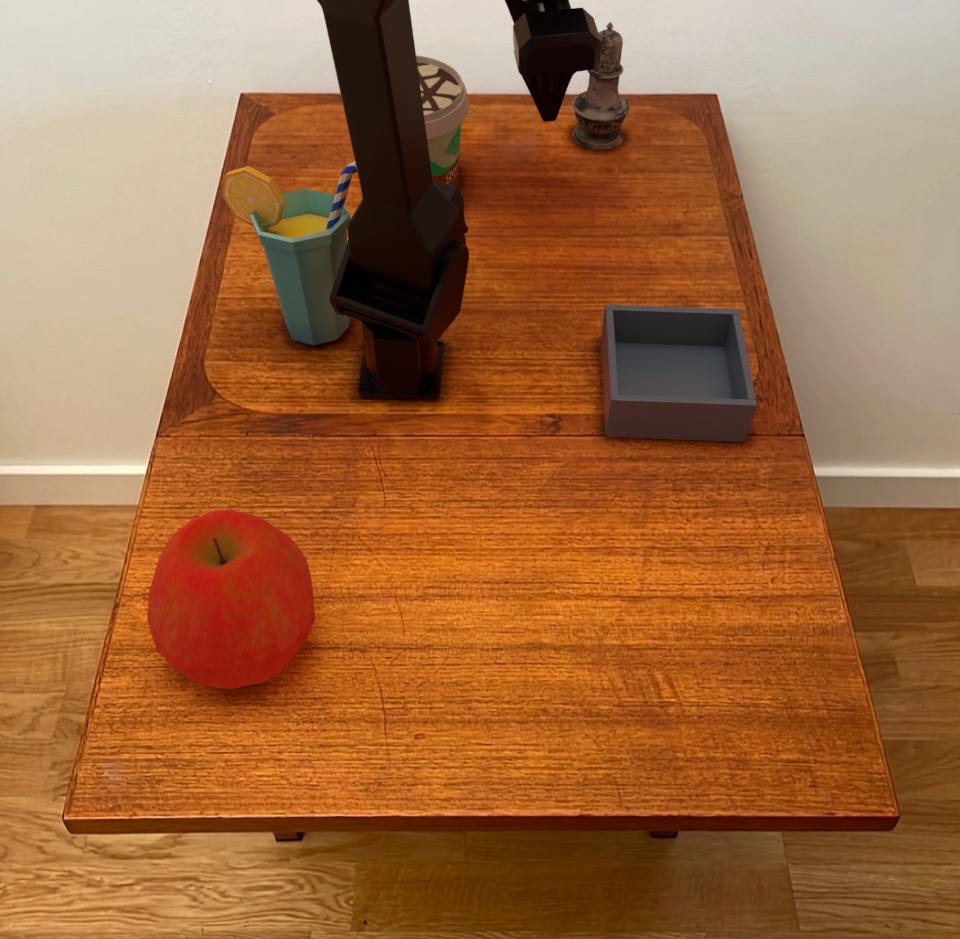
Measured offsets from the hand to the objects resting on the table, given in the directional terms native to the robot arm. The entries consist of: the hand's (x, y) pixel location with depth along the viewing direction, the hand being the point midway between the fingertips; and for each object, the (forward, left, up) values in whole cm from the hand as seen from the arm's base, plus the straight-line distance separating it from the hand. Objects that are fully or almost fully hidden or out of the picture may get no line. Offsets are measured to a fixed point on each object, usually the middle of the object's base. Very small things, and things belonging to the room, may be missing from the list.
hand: (541, 88), depth 86 cm
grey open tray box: (-24, -11, -12) cm, 29 cm away
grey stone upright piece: (+13, -7, -12) cm, 19 cm away
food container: (+4, +9, -12) cm, 16 cm away
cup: (-18, +17, -12) cm, 28 cm away
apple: (-48, +18, -12) cm, 53 cm away
